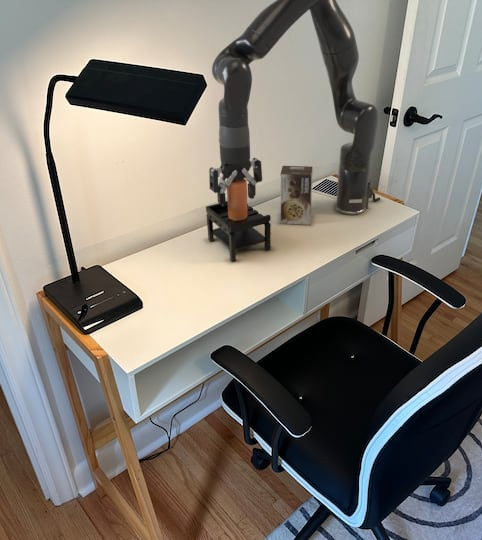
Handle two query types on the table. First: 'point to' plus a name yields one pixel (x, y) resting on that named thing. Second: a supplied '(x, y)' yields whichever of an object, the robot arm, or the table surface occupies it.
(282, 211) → the coffee box
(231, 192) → the orange-brown cylinder
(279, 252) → the table surface
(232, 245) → the rack
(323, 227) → the table surface
